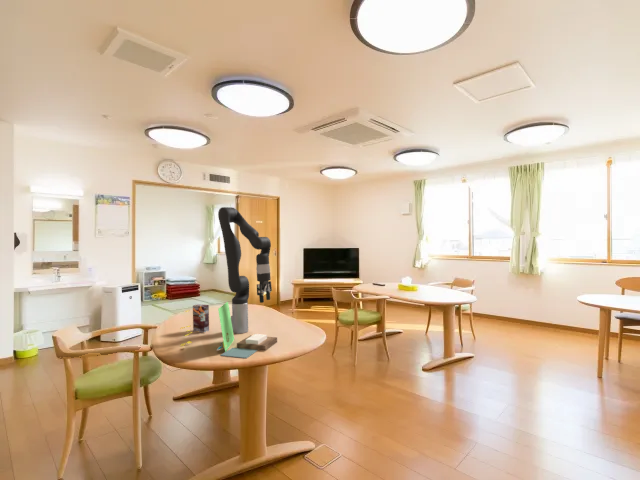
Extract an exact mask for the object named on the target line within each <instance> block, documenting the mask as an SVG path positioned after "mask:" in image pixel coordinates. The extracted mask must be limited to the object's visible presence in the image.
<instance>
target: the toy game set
mask: <svg viewBox="0 0 640 480" xmlns="http://www.w3.org/2000/svg"><path fill="white" fill-rule="evenodd" d="M201 305H202V304H201ZM201 305H200V308H199V311H200V313H199V311H196V310H195V309H194V308H193V307H192V311H193V310H194V311H195V312H196V313H198V314H199V315H200V316H199V317H201V316H202V317H203V318H201V320H200V321H205V317H206V316H205V315H206V314H205V312H204V311H203V310H202V308H201ZM230 311H231V310H230V306H229V301H226V302H225V303H223V304H222V305H221V306H220V307H218V316H219V317H218V318H219V323H220V329H221V335H222V339H223V341H221V342H220V345H221V346H220V345H219V346H218V347H217V348H216V351H221V350H224V353H225V352H226V351H228V350H229V348H230V347H231V345H232V344H233V342H234V341H235V335H234V333H233V329H232V323H231V312H230ZM187 312H188V313H189V310H185V311H184V313H187ZM189 327H192V326H191V325H186V326H183V327H180V328H179V329H180V330H181V329H185V328H189ZM186 332H188V334H185V335H184V337H187V336H190V334H192V333H193V332H194V331H191V329H188V330H186ZM192 343H193V342H192V341H186V342H184V343H181V344H180V347H184V346H185V347H186V344H187V345H188V344H192Z"/></svg>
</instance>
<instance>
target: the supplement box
mask: <svg viewBox="0 0 640 480" xmlns="http://www.w3.org/2000/svg"><path fill="white" fill-rule="evenodd" d="M200 305H201V308H202V310H203V311H204V312H205V314H206V315H205V316H206V317H205V321H200V320H201V318H203V317H202V316H201V317H199V316H200V315H199V314H198V313H196V312H195V311H194V310H193V308H194V309H195V310H196V311H199V308H200ZM199 313H200V311H199ZM192 328H193V329H192V330H193V331H192V332H195V331H199V332H198V333H203V332H205V333H207V332H209V331H210V307H209V304H199V303H198V304H194V305H192ZM206 331H207V332H206Z"/></svg>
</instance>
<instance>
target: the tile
mask: <svg viewBox="0 0 640 480" xmlns="http://www.w3.org/2000/svg"><path fill="white" fill-rule="evenodd" d="M248 337H249V336H248ZM267 337H268V334H264V333H263V334H260V333H254V334H252V336H251V337H249V338H247V337H246V338H247V339H246V343H247V344H260V343H261V342H263V341H264V340H266V339H267Z"/></svg>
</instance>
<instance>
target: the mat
mask: <svg viewBox="0 0 640 480" xmlns="http://www.w3.org/2000/svg"><path fill="white" fill-rule="evenodd" d="M258 351H259V350H254V349H244V348H237V347H231V348H230V349H227V351H226V352H225V351H224V352H223V353H221V354H220V355H219V356H220V357H227V358H228V357H230V358H238V359H249V357H250V356H253V354H255V353H257V352H258Z"/></svg>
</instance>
